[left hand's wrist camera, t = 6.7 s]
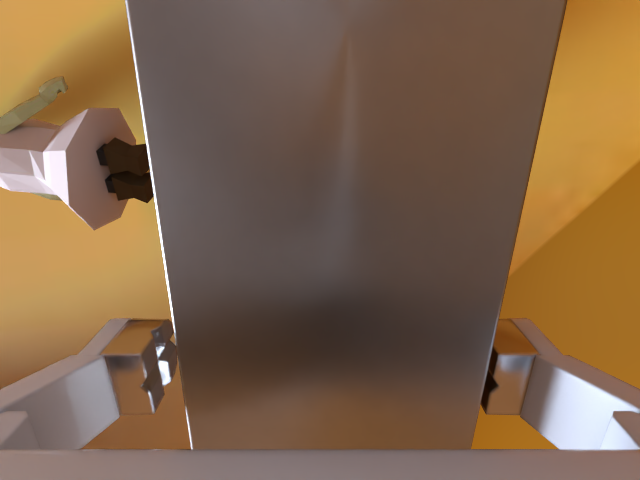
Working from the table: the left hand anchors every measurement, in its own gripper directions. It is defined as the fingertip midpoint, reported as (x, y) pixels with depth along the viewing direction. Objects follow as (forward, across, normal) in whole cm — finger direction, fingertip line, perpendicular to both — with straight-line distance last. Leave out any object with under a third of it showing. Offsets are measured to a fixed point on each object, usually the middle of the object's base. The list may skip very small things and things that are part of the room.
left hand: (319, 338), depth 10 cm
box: (+8, 0, +7) cm, 11 cm away
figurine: (+17, -17, +4) cm, 24 cm away
